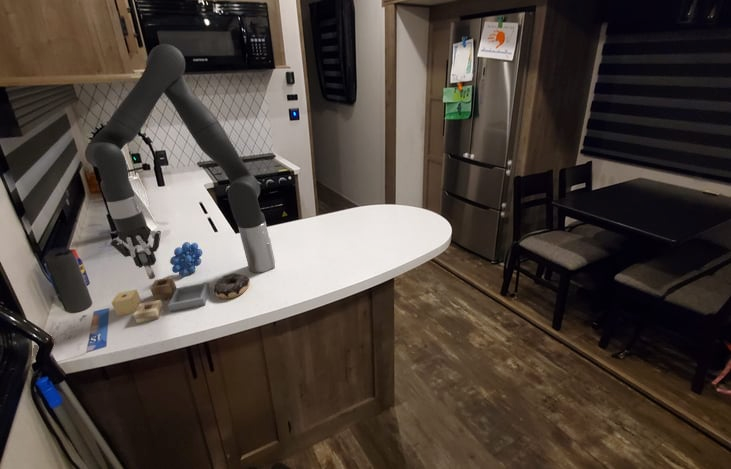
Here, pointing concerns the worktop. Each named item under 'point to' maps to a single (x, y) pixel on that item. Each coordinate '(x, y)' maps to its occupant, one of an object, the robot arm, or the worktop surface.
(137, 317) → the stand
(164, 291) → the block
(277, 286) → the worktop surface
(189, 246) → the grapes
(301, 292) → the worktop surface
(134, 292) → the block
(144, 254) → the cylinder
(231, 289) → the donut
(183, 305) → the tray
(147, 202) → the skyscraper
